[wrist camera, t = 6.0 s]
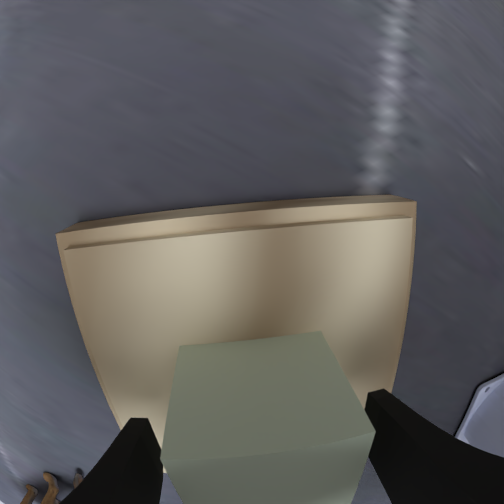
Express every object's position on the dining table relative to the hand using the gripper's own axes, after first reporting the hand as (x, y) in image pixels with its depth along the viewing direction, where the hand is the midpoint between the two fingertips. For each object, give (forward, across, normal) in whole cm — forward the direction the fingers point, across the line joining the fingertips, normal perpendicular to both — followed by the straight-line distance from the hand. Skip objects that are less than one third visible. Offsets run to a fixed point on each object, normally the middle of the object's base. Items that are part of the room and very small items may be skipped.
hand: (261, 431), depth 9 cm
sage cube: (+2, 0, 0) cm, 2 cm away
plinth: (+5, 0, 0) cm, 5 cm away
